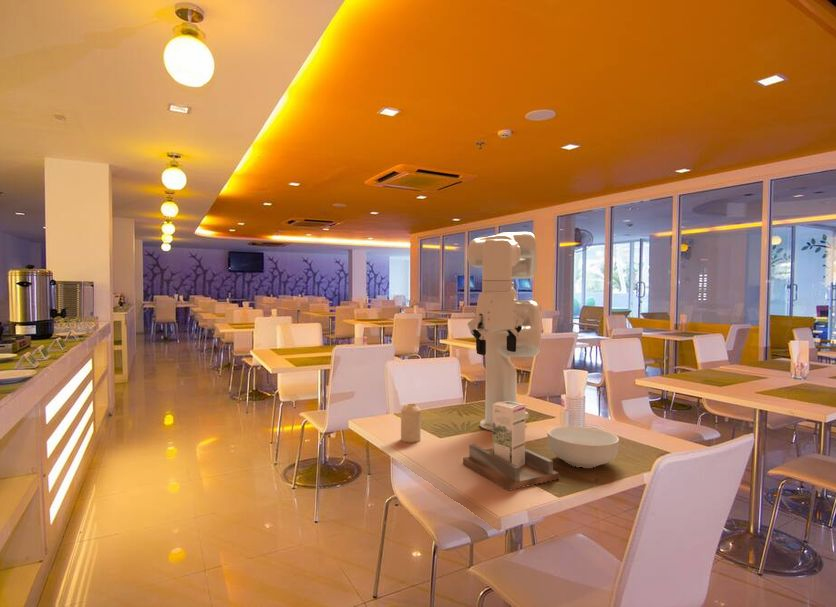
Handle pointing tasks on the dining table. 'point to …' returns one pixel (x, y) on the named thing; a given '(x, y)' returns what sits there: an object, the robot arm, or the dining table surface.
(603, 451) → the cereal bowl
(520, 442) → the syrup box
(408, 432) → the candle
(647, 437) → the dining table surface
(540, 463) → the track board
